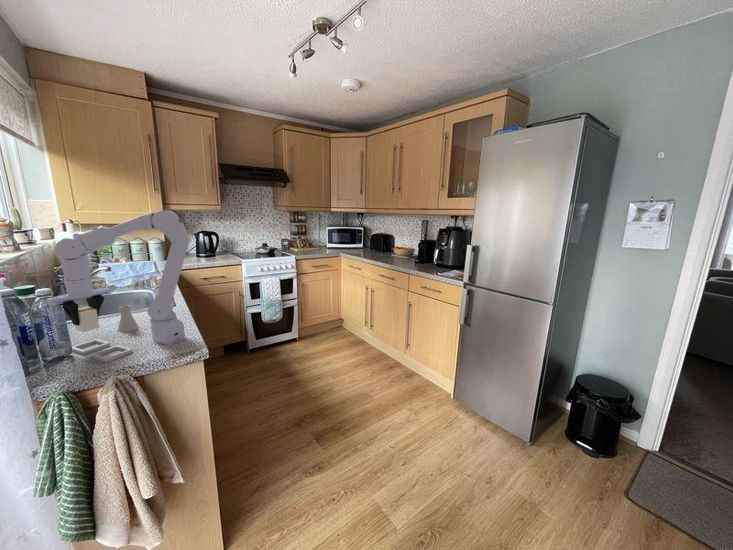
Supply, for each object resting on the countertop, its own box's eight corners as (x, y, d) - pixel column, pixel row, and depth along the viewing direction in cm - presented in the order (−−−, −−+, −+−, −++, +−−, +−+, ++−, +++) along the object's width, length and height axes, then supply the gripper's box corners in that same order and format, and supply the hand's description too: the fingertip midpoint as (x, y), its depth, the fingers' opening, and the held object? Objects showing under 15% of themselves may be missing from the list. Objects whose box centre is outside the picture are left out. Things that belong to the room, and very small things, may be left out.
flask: (137, 327, 115) (134, 302, 113) (143, 332, 111) (140, 306, 109) (113, 333, 110) (109, 306, 108) (118, 338, 105) (114, 311, 103)
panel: (138, 354, 94) (137, 347, 94) (100, 369, 85) (99, 361, 85) (103, 344, 101) (102, 337, 100) (64, 357, 92) (63, 349, 91)
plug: (99, 327, 94) (96, 307, 93) (83, 332, 91) (79, 311, 89) (91, 325, 96) (88, 305, 94) (75, 329, 92) (72, 309, 91)
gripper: (98, 273, 98) (105, 313, 101) (37, 282, 85) (47, 328, 88) (112, 275, 96) (118, 316, 98) (51, 284, 82) (60, 332, 85)
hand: (85, 322), depth 93 cm, fingers closed on plug, 4 cm apart
